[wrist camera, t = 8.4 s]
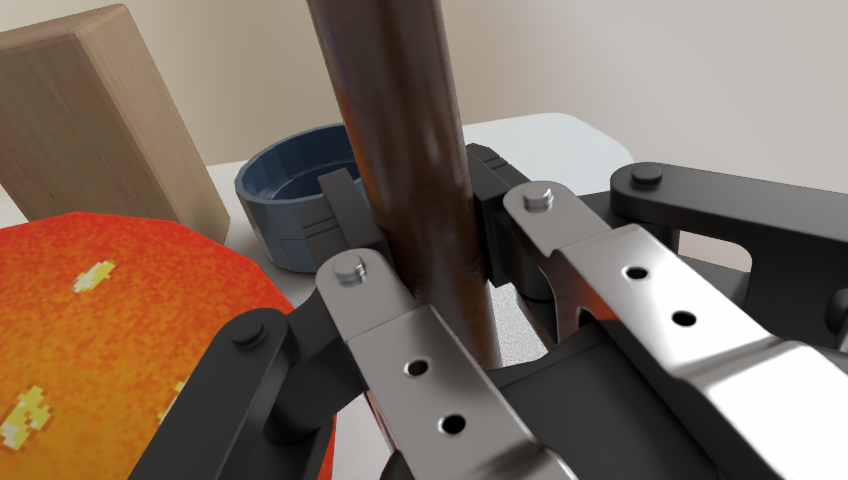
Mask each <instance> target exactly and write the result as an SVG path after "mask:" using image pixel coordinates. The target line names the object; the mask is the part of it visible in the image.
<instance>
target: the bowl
mask: <svg viewBox="0 0 848 480" xmlns="http://www.w3.org/2000/svg"><path fill="white" fill-rule="evenodd" d="M342 168H346V169H347V171H348V172H349V174H350V176H351V177H352V179H353V181H354V182H355V184H356V186H357V188H358V189H359V191H360V193H361V194H362V196H363V198H364V200H365V201H366V203H367V205H368V206H369V203H368V199H367V196H366V193H365V190H364V186H363V183H362V180H361V177H360V173H359V170H358V167H357V164H356V161H355V157H354V154H353V151H352V148H351V144H350V141H349V138H348V135H347V131H346V128H345V125H344V123H336V124H331V125H326V126H322V127H317V128H313V129H310V130H307V131H304V132H301V133H298V134H295V135H292V136H290V137H287V138H285V139H283V140H281V141H279V142H277V143H274V144H272V145H271V146H269V147H267V148H266V149H264V150H263V151H261V152H260V153H258V154H256V155H255V156H253V157H252V158H251V159H250V160H249V161H248V162H247V163H246V164H245V165H244V166H243V167H242V168H241V169H240V171H239V173H238V175H237V177H236V178H235V181H234V183H235V190H236V194H237V196H238V198H239V200H240V202H241V204H242V206H243V209H244V211H245V213H246V215H247V217H248V219H249V221H250V224H251V226H252V228H253V230H254V232H255V234H256V236H257V239H258V241H259V243H260V245H261V247H262V249H263V252H264V254H265V256H266V257H267V258H268V259H269V260H270V261H271V262H273V263H274V264H275V265H276V266H278V267H281V268H284V269H287V270H290V271H293V272H294V271H295V272H312V273H317V269H316V266H315V263H314V260H313V257H312V254H311V251H310V248H309V245H308V242H307V239H306V236H305V233H304V230H303V227H302V224H301V221H300V218H299V214H300V212H301V209H302V207H303V204H304V203H306V202H309V201H312V200H314V199H317V198H320V197H323V196H324V195H323V192H322V190H321V187H320V184H319V181H318V178H317V177H320V176H323V175H325V174H328V173H331V172H334V171H337V170H340V169H342ZM369 208H370V206H369ZM370 210H371V209H370Z"/></svg>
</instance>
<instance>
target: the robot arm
mask: <svg viewBox="0 0 848 480" xmlns="http://www.w3.org/2000/svg"><path fill="white" fill-rule="evenodd" d="M465 148H466V154H467V159H468V165H469V171H470V177H471V183H472V189H473V194H474V200H475V206H476V212H477V218H478V224H479V229H480V235H481V241H482V247H483V253H484V258H485V264H486V270H487V276H488V279H489V281H490V282H491V283H492V284H493V286H494V287H495V288H498V287H500V286H503V285H505V284H507V283H510V282H511V283H512V284H513V285H514V286H515V294H516V301H517V304H518V306H519V308H520V309H521V311H522V312H523V314H524V316H525V317H526V319H527V320H528V322H529V323H530V325H531V326H532V328H533V329H534V331H535V332H536V334H537V335H538V337H539V338H540V340H541V342H542V343H543V345H544V346H545V348H546V349H547V351H548V353H547V354H546V355H544V356H543V357H541V358H540V359H537V360H535V361H531V362H526V363H521V364H516V365H512V366H507V367H502V368H497V369H492V370H488V371H483V370H482V369H481V367H480V366H479V365H478V363H477V362H476V361H475V360H474V358H473V357H472V356H471V354H470V353H469V352H468V351H467V349H466V348H465V347H464V345H463V344H462V343H461V342H460V340H459V339H458V338H457V336H456V335H455V334H454V333H453V331H452V330H451V329H450V328H449V326H448V325H447V324H446V322H445V321H444V320H443V319H442V317H441V316H440V315H439V313H438V312H437V311H436V310H435V308H434V307H433V306H432V305H431V304H430V303H429V302H424V303H422V304H420V305H419V304H418V303H417V301H416V300H415V299H414V297H413V296H412V295H411V293H410V292H409V291H408V289H407V288H406V287H405V285H404V284H403V283H402V281H401V280H400V279H399V277H398V274H397V270H396V267H395V264H394V260H393V257H392V254H391V250H390V247H389V244H388V240H387V237H386V235H385V234H384V232H383V230H382V228H381V227H380V226H379V225H378V224H377V223H376V222H375V221H374V218H373V215H372V212H371V210H370V208H369V206H368V205H367V203H366V201H365V200H364V198H363V196H362V194H361V193H360V191H359V189H358V188H357V186H356V184H355V182H354V181H353V179H352V177H351V176H350V174H349V172H348V171H347V169H346V168H342V169H340V170H337V171H334V172H331V173H328V174H325V175H323V176H320V177H317V178H318V181H319V184H320V187H321V190H322V192H323V195H324V196H323V197H320V198H317V199H314V200H312V201H309V202H306V203H304V204H303V207H302V209H301V212H300V214H299V218H300V221H301V224H302V227H303V230H304V233H305V236H306V239H307V242H308V245H309V248H310V251H311V254H312V257H313V260H314V263H315V266H316V269H317V274H316V277H315V283H316V286H317V287H316V289H315V291H314V292H313V293H312V295H311V296H310V297H309V298H308V299H307V300H306V301H305V302H304V303H303V304H301V305H300V306H299V307H297V308H296V309H294V310H293V311H291V312H290V313H288V314H287V315H284V313H283V312H281V311H280V310H278V309H275V308H265V307H264V308H257V309H252V310H249V311H246V312H244V313H242V314H240V315H238V316H236V317H234V318H233V319H231V320H230V321H228V322H227V323H226V324H225V325H224V326H223V327H222V328H221V329H220V330H219V331H218V332H217V333H216V335H215V336H214V338H213V339H212V341H211V343H210V344H209V346H208V348H207V349H206V351H205V353H204V354H203V356H202V357H201V359H200V361H199V362H198V364H197V366H196V367H195V369H194V371H193V372H192V374H191V375H190V377H189V379H188V380H187V382H186V384H185V385H184V387H183V388H182V390H181V392H180V393H179V395H178V397H177V398H176V400H175V402H174V403H173V405H172V406H171V408H170V410H169V411H168V413H167V415H166V416H165V418H164V420H163V421H162V423H161V424H160V426H159V428H158V429H157V431H156V433H155V434H154V436H153V438H152V439H151V441H150V442H149V444H148V446H147V447H146V449H145V451H144V452H143V454H142V455H141V457H140V459H139V460H138V462H137V464H136V465H135V467H134V469H133V470H132V472H131V473H130V475H129V477H128V478H127V480H317V479H318V476H319V473H320V469H321V466H322V463H323V460H324V457H325V454H326V450H327V447H328V444H329V441H330V438H331V435H332V431H333V428H334V415H335V414H336V413H337V412H339V411H340V410H341V409H342V408H344V407H345V406H346V405H348V404H349V403H350V402H351V401H353V400H354V399H355V398H356V397H358V396H359V395H360V394H362V393H363V395H364V397H365V399H366V401H367V403H368V406H369V408H370V410H371V412H372V414H373V416H374V418H375V420H376V422H377V424H378V426H379V428H380V431H381V433H382V435H383V437H384V439H385V441H386V443H387V445H388V447H389V450H390V452H391V454H392V455H391V456H390V458H389V460H388V462H387V464H386V466H385V468H384V470H383V472H382V474H381V477H380V479H379V480H848V194H844V193H838V192H832V191H825V190H819V189H813V188H807V187H801V186H795V185H789V184H783V183H777V182H771V181H765V180H759V179H752V178H747V177H741V176H735V175H729V174H723V173H717V172H711V171H705V170H699V169H692V168H687V167H681V166H675V165H669V164H663V163H655V162H641V163H634V164H630V165H627V166H624V167H622V168H620V169H618V170H616V171H615V172H614V173H613V174H612V176H611V178H610V191H606V192H600V193H594V194H588V195H582V196H576V195H575V194H574V193H573V192H572V191H570V190H569V189H568V188H567V187H566V186H564V185H562V184H560V183H557V182H552V181H531V180H529V179H528V178H527V177H526V176H524V175H523V174H522V173H521V172H519V171H518V170H517V169H516V168H514V167H513V166H512V165H511V164H508V162H507V161H506V160H504V159H503V158H502V157H501V158H500V156H499V155H498V154H497V153H495V152H494V151H493V150H492V149H490V148H489V147H485V146H482V145H478V144H475V143H471V144H469V145H466V146H465ZM680 230H682V231H686V232H691V233H694V234H699V235H703V236H707V237H711V238H715V239H720V240H724V241H728V242H732V243H736V244H738V245H740V246H742V247H743V248H745V249H746V250H747V251H748V252H749V254H750V255H751V258H752V267H751V272H742V271H739V270H735V269H731V268H727V267H724V266H720V265H716V264H712V263H709V262H705V261H701V260H697V259H693V258H690V257H686V256H682V255H678V247H679V237H680V236H679V235H680Z"/></svg>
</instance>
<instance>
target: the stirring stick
mask: <svg viewBox="0 0 848 480" xmlns="http://www.w3.org/2000/svg"><path fill="white" fill-rule="evenodd" d="M306 2H307V5H308V9H309V12H310V15H311V18H312V21H313V25H314V28H315V31H316V34H317V38H318V41H319V44H320V47H321V50H322V54H323V57H324V60H325V64H326V67H327V70H328V73H329V76H330V80H331V83H332V86H333V89H334V93H335V96H336V99H337V102H338V106H339V108H340V112H341V115H342V118H343V122H344V125H345V128H346V131H347V135H348V138H349V141H350V144H351V148H352V151H353V154H354V157H355V161H356V164H357V167H358V170H359V173H360V177H361V180H362V183H363V186H364V190H365V193H366V196H367V199H368V203H369V206H370V209H371V212H372V215H373V218H374V221H375V222H376V223H377V224H378V225H379V226H380V227H381V228H382V230H383V232H384V234H385V235H386V237H387V240H388V244H389V247H390V250H391V254H392V257H393V260H394V264H395V267H396V270H397V274H398V277H399V279H400V280H401V281H402V283H403V284H404V285H405V287H406V288H407V289H408V291H409V292H410V293H411V295H412V296H413V297H414V299H415V300H416V301H417V303H418V304H419V305H420V304H422V303H424V302H429V303H430V304H431V305H432V306H433V307H434V308H435V310H436V311H437V312H438V313H439V315H440V316H441V317H442V319H443V320H444V321H445V322H446V324H447V325H448V326H449V328H450V329H451V330H452V331H453V333H454V334H455V335H456V336H457V338H458V339H459V340H460V342H461V343H462V344H463V345H464V347H465V348H466V349H467V351H468V352H469V353H470V354H471V356H472V357H473V358H474V360H475V361H476V362H477V363H478V365H479V366H480V367H481V369H482V370H483V371H488V370H492V369H497V368H502V367H503V363H502V357H501V352H500V346H499V340H498V334H497V328H496V322H495V317H494V311H493V305H492V299H491V293H490V288H489V282H488V276H487V270H486V264H485V258H484V253H483V247H482V241H481V235H480V229H479V224H478V218H477V212H476V206H475V200H474V194H473V189H472V183H471V177H470V171H469V165H468V159H467V154H466V148H465V142H464V136H463V130H462V125H461V119H460V113H459V107H458V102H457V95H456V90H455V84H454V79H453V72H452V66H451V61H450V55H449V49H448V43H447V37H446V32H445V26H444V20H443V14H442V8H441V2H440V0H306Z"/></svg>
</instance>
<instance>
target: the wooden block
mask: <svg viewBox="0 0 848 480" xmlns="http://www.w3.org/2000/svg"><path fill="white" fill-rule="evenodd" d="M0 184H1V185H2V187H3V188H4V189H5V190H6V192H7V193H8V195H9V196H10V197H11V199H12V200H13V201H14V203H15V204H16V205H17V207H18V208H19V209H20V211H21V212H22V213H23V215H24V216H25V217H26V219H27V220H28V221H29V222H33V221H37V220H41V219H46V218H50V217H55V216H59V215H64V214H68V213H72V212H77V211H80V212H90V213H99V214H109V215H119V216H128V217H138V218H148V219H157V220H167V221H175V222H177V223H179V224H181V225H183V226H185V227H187V228H189V229H191V230H193V231H195V232H197V233H199V234H201V235H203V236H205V237H207V238H209V239H211V240H213V241H215V242H217V243H219V244H221V245H223V244H224V241H225V237H226V234H227V230H228V227H229V224H230V217H229V214H228V212H227V210H226V208H225V206H224V204H223V202H222V200H221V198H220V196H219V194H218V192H217V190H216V188H215V186H214V184H213V182H212V180H211V178H210V176H209V173H208V171H207V169H206V167H205V165H204V163H203V161H202V159H201V157H200V155H199V153H198V151H197V149H196V147H195V145H194V143H193V141H192V139H191V137H190V135H189V133H188V130H187V129H186V126H185V124H184V122H183V120H182V118H181V116H180V114H179V112H178V110H177V108H176V106H175V104H174V102H173V100H172V98H171V96H170V94H169V92H168V90H167V87H166V85H165V83H164V81H163V79H162V77H161V75H160V73H159V71H158V69H157V67H156V65H155V63H154V61H153V59H152V57H151V55H150V53H149V51H148V49H147V47H146V45H145V42H144V40H143V38H142V36H141V34H140V32H139V30H138V28H137V26H136V24H135V22H134V20H133V18H132V16H131V14H130V12H129V10H128V8H127V7H126V6H125V5H124V4H114V5H110V6H106V7H102V8H98V9H94V10H90V11H86V12H82V13H78V14H73V15H69V16H66V17H61V18H57V19H53V20H49V21H45V22H41V23H37V24H33V25H29V26H25V27H21V28H17V29H12V30H8V31H4V32H0Z"/></svg>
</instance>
